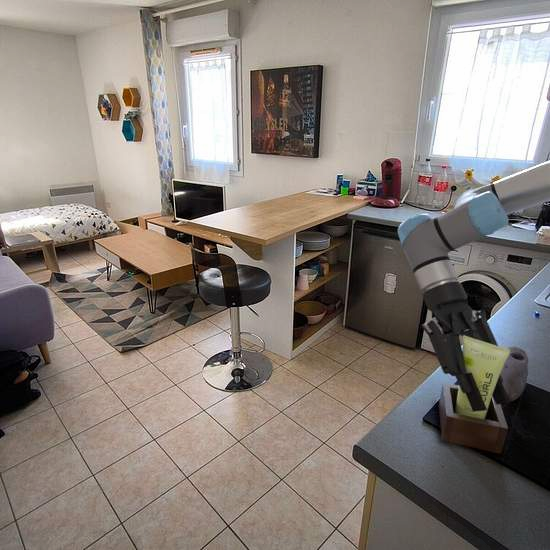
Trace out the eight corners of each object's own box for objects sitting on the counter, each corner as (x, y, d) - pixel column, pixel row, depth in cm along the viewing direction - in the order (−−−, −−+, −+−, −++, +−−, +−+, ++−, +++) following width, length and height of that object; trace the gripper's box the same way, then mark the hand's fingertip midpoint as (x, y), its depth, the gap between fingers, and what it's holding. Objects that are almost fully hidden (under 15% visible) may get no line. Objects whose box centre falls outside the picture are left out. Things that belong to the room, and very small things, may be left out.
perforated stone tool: (521, 412, 75) (529, 385, 72) (492, 402, 77) (499, 375, 75) (525, 373, 86) (532, 348, 83) (499, 366, 89) (505, 341, 86)
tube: (456, 436, 69) (477, 350, 62) (445, 417, 74) (463, 334, 66) (486, 436, 69) (510, 350, 62) (473, 416, 74) (494, 334, 66)
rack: (490, 415, 74) (496, 392, 72) (501, 454, 66) (508, 428, 63) (438, 405, 77) (442, 382, 75) (442, 440, 69) (447, 416, 66)
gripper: (463, 287, 79) (513, 397, 71) (393, 300, 74) (438, 420, 66) (488, 273, 72) (546, 393, 64) (413, 286, 67) (466, 418, 59)
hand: (491, 406), depth 65 cm, fingers closed on tube, 5 cm apart
